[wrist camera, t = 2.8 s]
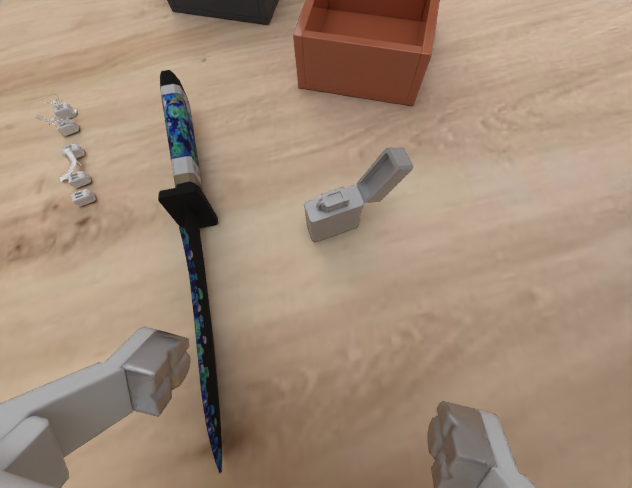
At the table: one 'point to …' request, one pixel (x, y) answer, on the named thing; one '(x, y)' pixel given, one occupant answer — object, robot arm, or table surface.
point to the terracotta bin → (365, 47)
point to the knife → (192, 239)
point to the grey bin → (228, 9)
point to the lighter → (356, 196)
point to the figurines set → (71, 152)
